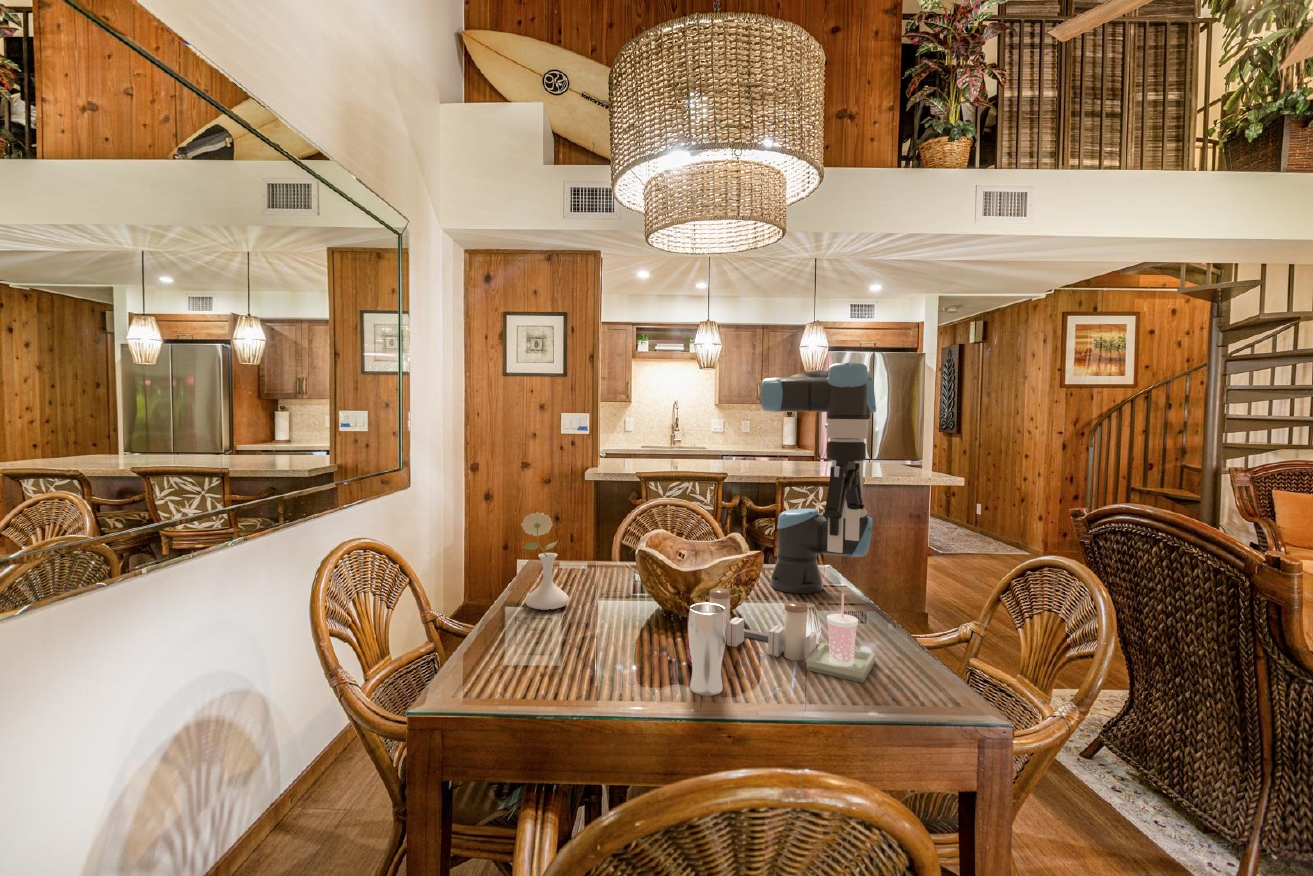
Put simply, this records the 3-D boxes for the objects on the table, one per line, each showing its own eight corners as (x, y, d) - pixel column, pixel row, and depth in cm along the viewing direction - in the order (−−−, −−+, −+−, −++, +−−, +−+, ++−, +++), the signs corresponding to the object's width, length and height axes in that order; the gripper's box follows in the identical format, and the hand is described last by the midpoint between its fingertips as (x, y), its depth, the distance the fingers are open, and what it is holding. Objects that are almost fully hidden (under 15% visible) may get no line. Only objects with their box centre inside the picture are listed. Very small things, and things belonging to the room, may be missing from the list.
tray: (821, 652, 129) (822, 642, 129) (875, 663, 123) (875, 653, 123) (806, 669, 120) (806, 659, 119) (863, 683, 114) (863, 672, 114)
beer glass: (685, 680, 114) (686, 602, 113) (721, 680, 114) (722, 602, 114) (690, 697, 107) (691, 614, 106) (728, 697, 107) (729, 614, 107)
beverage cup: (842, 670, 117) (844, 600, 117) (819, 659, 123) (820, 592, 122) (863, 664, 120) (865, 595, 120) (840, 654, 126) (841, 588, 125)
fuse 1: (714, 634, 139) (715, 587, 138) (732, 638, 136) (733, 590, 136) (705, 640, 135) (706, 592, 134) (724, 644, 132) (724, 595, 132)
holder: (714, 627, 143) (714, 607, 143) (822, 650, 130) (823, 628, 129) (698, 638, 136) (698, 616, 136) (811, 664, 122) (811, 640, 122)
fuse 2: (787, 650, 130) (788, 600, 129) (808, 655, 127) (809, 603, 127) (780, 657, 126) (781, 605, 125) (801, 662, 123) (803, 609, 123)
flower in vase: (574, 601, 162) (575, 509, 161) (561, 615, 151) (562, 516, 150) (528, 598, 164) (529, 508, 163) (512, 612, 153) (513, 514, 152)
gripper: (843, 438, 133) (840, 533, 133) (808, 441, 111) (806, 554, 112) (878, 439, 129) (876, 537, 129) (850, 442, 107) (847, 560, 108)
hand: (843, 545), depth 121 cm, fingers open, 13 cm apart
